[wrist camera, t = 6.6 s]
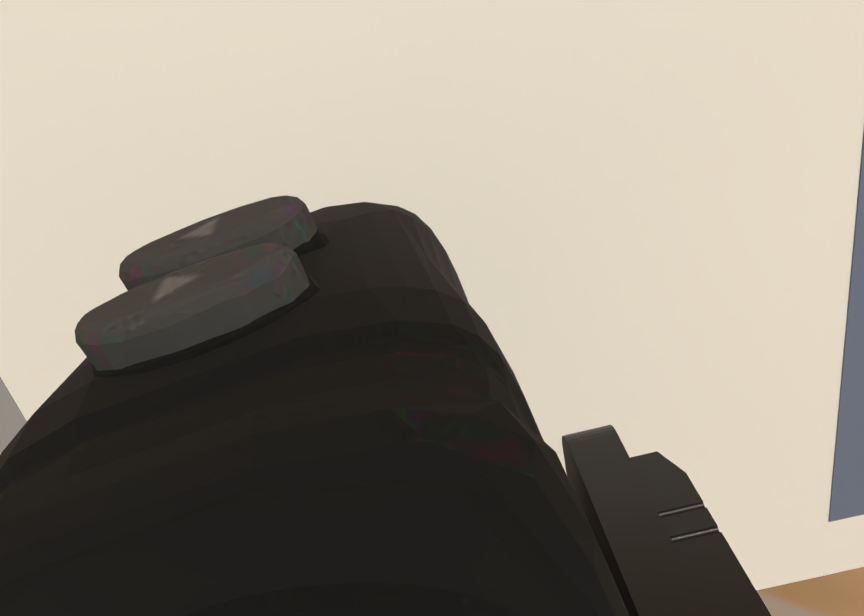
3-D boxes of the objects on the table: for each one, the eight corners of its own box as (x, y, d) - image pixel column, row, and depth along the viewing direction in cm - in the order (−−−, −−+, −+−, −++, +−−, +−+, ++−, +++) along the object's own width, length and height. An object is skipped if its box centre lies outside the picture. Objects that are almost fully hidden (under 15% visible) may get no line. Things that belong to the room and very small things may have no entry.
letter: (-518, 47, 11) (-536, 50, 11) (1097, -329, 11) (1112, -333, 10) (40, 741, 20) (37, 751, 20) (931, 544, 20) (938, 551, 19)
